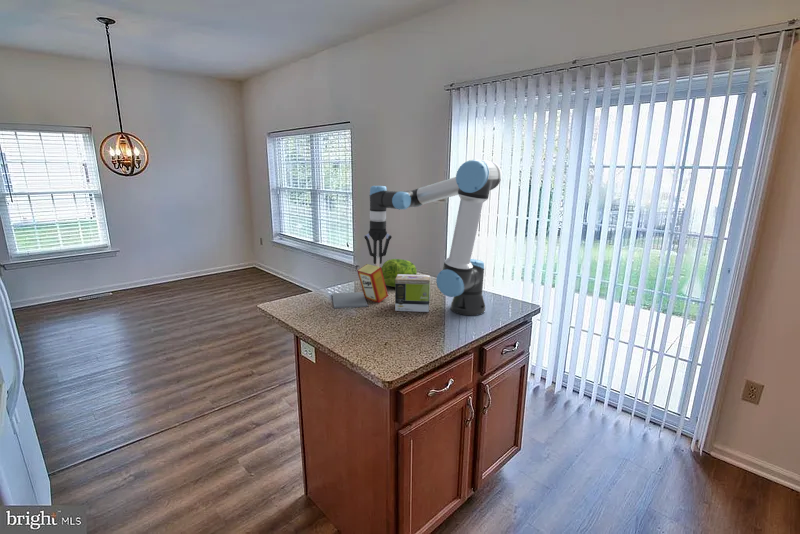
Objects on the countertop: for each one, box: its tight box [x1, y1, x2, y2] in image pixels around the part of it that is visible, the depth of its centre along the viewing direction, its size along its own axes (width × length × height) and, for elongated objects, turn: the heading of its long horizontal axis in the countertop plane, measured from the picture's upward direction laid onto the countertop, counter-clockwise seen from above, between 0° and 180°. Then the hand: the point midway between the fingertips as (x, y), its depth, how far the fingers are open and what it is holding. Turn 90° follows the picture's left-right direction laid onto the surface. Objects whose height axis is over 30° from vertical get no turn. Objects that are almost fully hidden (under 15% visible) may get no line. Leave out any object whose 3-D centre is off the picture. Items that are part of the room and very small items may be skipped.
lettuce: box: [380, 258, 418, 288], centre depth 209 cm, size 16×21×15 cm
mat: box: [331, 291, 369, 309], centre depth 185 cm, size 20×15×1 cm
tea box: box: [394, 274, 431, 313], centre depth 175 cm, size 15×10×15 cm, turn 84°
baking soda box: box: [356, 263, 389, 304], centre depth 184 cm, size 10×6×16 cm
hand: (377, 270), depth 185 cm, fingers closed
